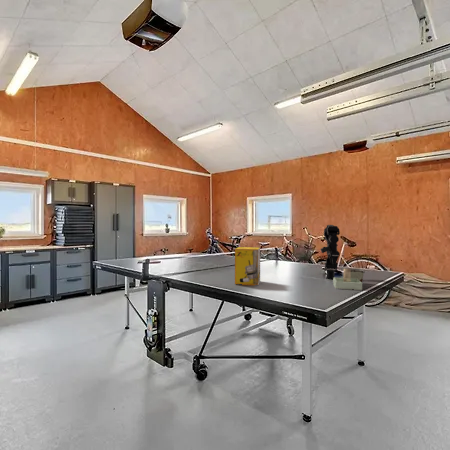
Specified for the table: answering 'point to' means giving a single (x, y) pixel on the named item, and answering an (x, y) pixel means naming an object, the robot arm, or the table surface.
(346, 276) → the maple peg
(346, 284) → the open box
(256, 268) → the packaging box
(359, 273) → the food container
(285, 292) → the table surface
